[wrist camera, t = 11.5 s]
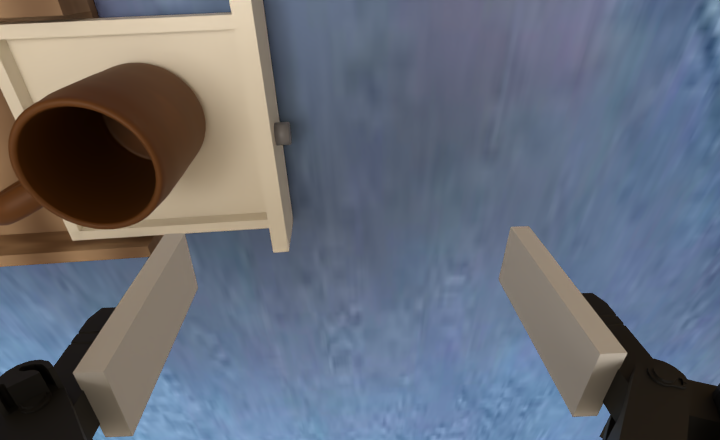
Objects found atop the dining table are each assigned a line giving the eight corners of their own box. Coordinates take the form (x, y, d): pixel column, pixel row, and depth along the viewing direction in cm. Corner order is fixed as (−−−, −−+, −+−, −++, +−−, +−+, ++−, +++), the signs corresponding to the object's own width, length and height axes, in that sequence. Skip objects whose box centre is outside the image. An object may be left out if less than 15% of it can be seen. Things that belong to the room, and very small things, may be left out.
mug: (100, 204, 32) (24, 281, 24) (20, 118, 29) (-101, 175, 21) (230, 139, 30) (195, 199, 22) (162, 38, 27) (91, 66, 19)
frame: (-32, 242, 35) (-70, 271, 32) (-183, 4, 26) (-260, 9, 23) (168, 229, 36) (151, 256, 33) (90, -8, 27) (56, -5, 23)
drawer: (94, 233, 35) (65, 266, 31) (-6, 2, 26) (-66, 7, 22) (304, 219, 36) (301, 250, 32) (276, -10, 27) (267, -7, 23)
